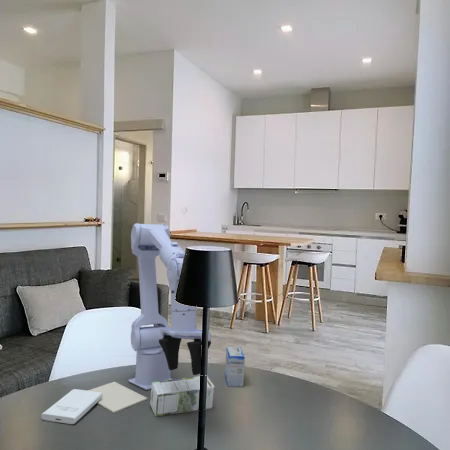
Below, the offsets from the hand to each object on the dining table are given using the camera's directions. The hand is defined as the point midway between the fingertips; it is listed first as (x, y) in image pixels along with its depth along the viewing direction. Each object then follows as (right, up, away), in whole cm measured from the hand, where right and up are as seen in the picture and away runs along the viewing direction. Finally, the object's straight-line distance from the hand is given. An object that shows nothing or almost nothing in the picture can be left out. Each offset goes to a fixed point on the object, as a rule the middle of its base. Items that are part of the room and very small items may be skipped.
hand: (184, 371), depth 92 cm
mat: (-19, -11, +11) cm, 25 cm away
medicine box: (+12, -12, +25) cm, 30 cm away
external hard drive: (-27, -10, +4) cm, 29 cm away
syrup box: (-8, -8, +4) cm, 12 cm away
